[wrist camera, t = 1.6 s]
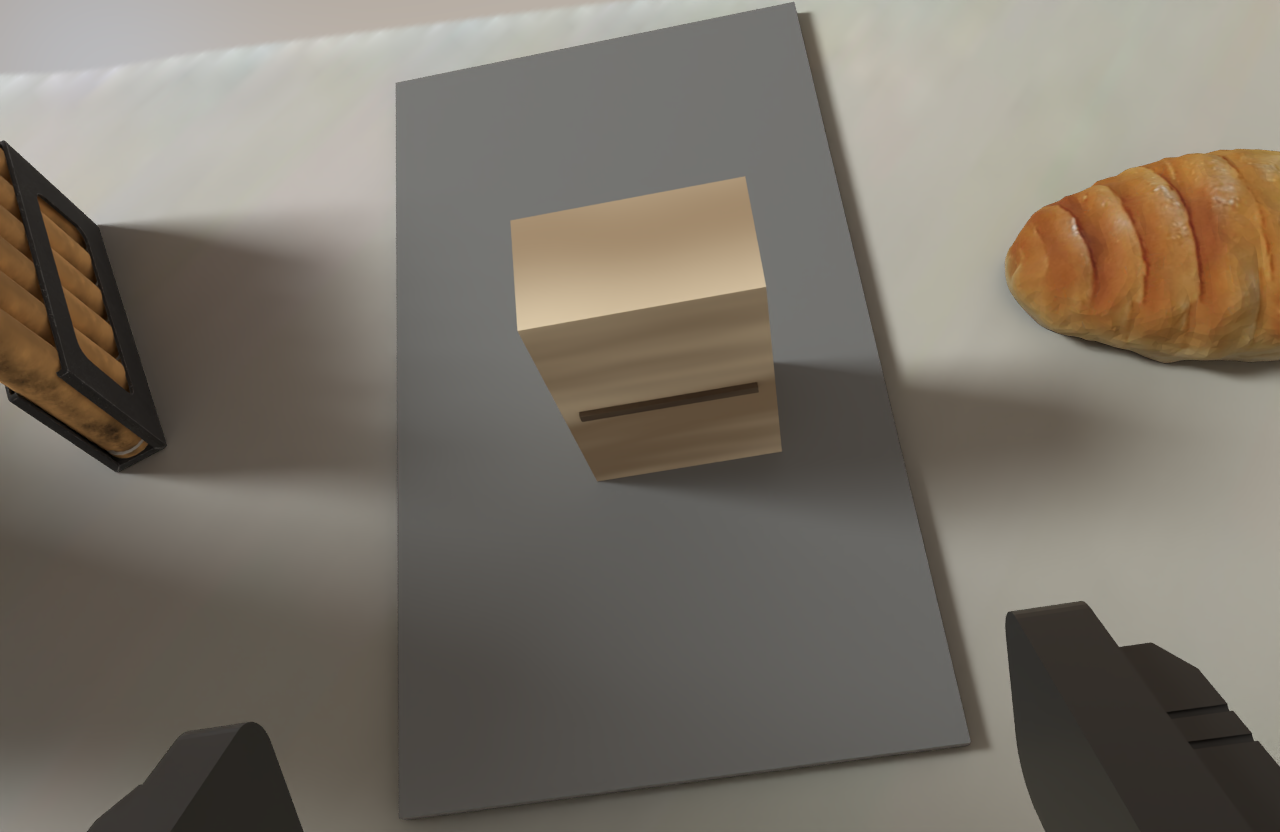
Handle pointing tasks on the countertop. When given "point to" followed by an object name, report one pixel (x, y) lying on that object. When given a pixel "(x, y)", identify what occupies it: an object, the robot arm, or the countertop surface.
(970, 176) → the countertop surface
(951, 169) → the countertop surface
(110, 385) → the ammunition clip
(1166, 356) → the pastry
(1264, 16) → the countertop surface
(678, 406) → the wooden block
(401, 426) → the mat
